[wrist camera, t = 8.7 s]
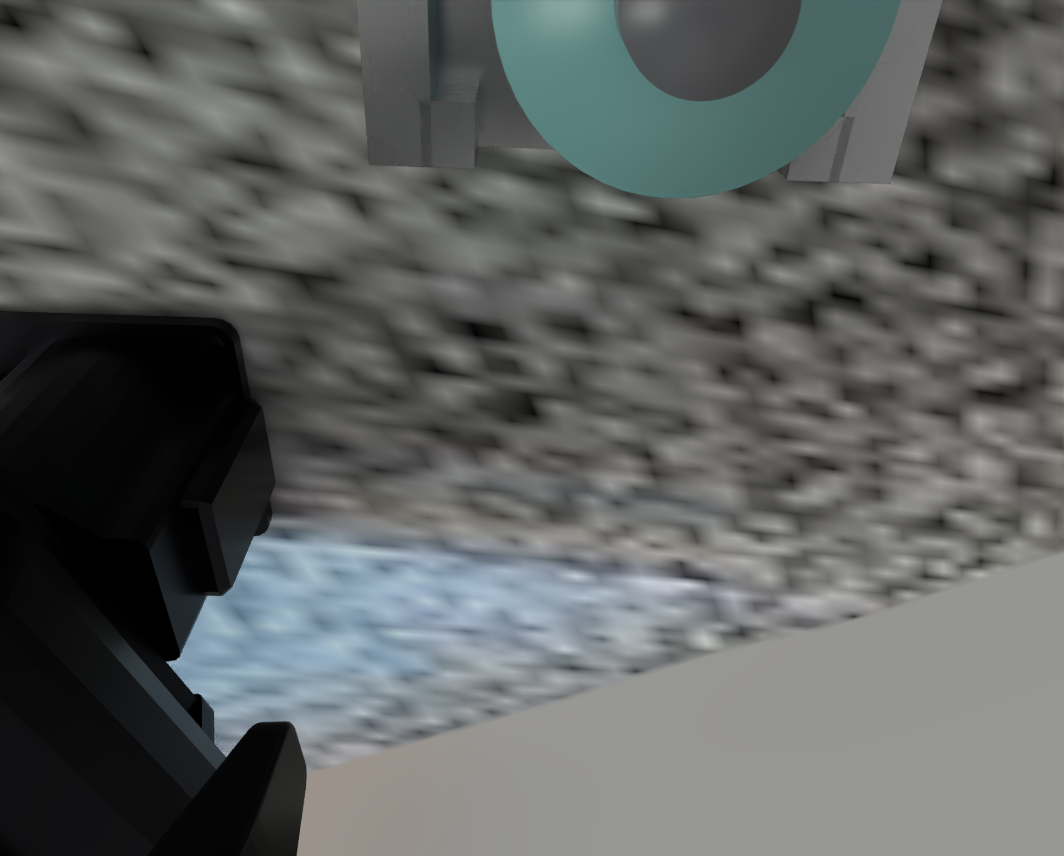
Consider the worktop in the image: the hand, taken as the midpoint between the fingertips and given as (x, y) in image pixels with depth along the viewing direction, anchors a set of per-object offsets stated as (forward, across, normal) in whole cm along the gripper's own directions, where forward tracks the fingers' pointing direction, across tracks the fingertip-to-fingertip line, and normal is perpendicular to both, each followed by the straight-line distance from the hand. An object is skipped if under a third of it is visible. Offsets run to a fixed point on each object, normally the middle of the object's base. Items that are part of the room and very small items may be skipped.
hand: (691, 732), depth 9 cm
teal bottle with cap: (+11, 0, -7) cm, 13 cm away
